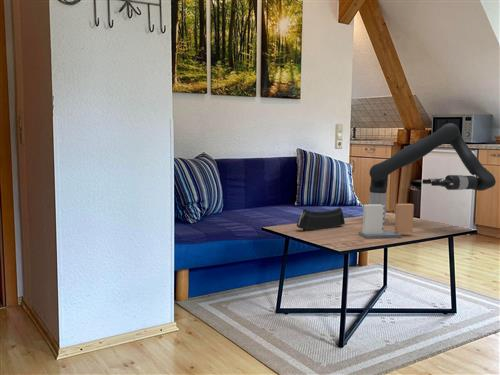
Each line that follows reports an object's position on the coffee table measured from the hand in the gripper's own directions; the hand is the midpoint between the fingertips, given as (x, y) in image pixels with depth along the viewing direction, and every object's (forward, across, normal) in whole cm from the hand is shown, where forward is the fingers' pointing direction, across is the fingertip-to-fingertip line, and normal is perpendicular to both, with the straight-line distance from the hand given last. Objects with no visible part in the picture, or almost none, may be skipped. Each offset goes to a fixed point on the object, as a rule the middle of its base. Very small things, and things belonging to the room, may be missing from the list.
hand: (427, 182), depth 253 cm
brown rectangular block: (+14, +4, +24) cm, 28 cm away
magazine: (+49, -16, +26) cm, 58 cm away
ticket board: (+26, +4, +26) cm, 37 cm away
